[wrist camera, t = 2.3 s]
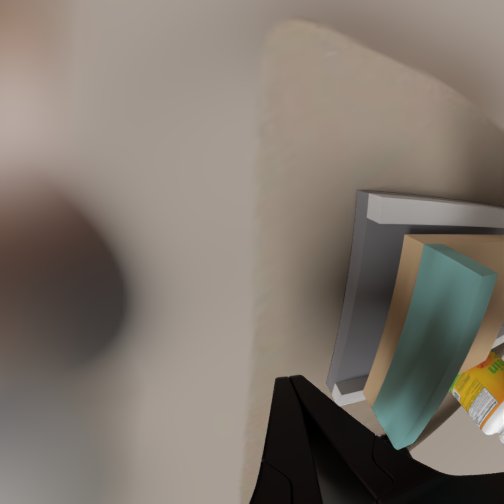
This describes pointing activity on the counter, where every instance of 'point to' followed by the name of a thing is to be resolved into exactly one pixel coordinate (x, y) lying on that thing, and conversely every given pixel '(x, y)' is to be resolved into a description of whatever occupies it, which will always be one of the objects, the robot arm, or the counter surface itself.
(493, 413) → the supplement bottle
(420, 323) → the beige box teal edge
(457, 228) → the track
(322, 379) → the counter surface
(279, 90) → the counter surface
